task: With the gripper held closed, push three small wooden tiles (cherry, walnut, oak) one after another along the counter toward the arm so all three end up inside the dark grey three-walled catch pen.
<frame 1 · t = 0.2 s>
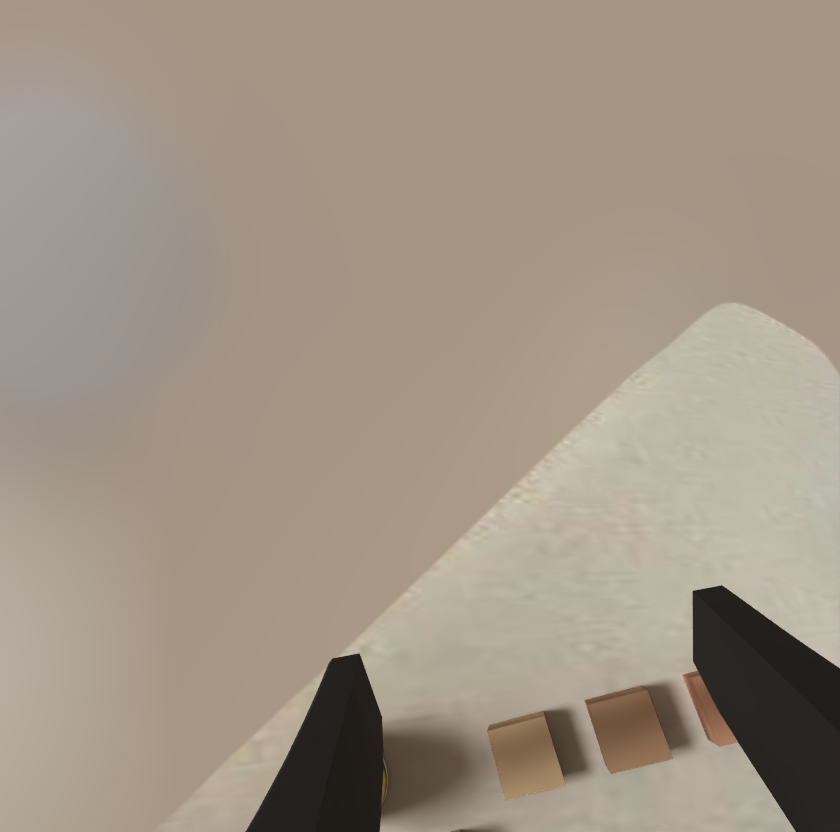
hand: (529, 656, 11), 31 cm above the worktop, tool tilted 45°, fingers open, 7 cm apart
cherry tile: (722, 698, 36), on the worktop
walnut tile: (622, 724, 37), on the worktop
oak tile: (525, 749, 37), on the worktop
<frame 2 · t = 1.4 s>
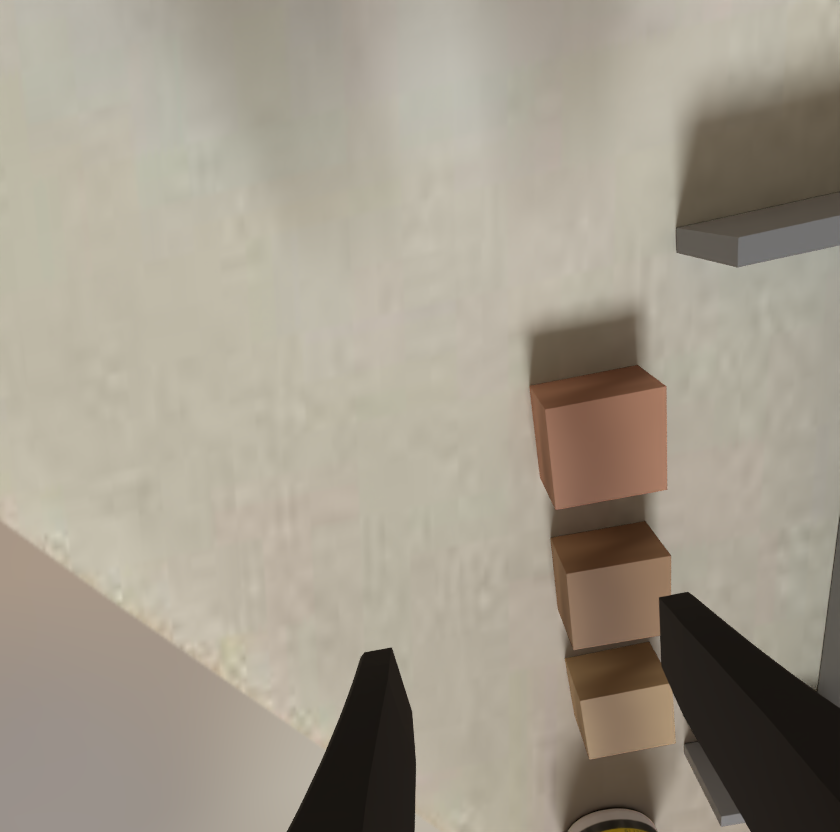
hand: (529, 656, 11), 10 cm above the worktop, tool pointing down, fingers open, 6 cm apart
supplement bottle 2: (606, 829, 31), on the worktop
cherry tile: (584, 421, 21), on the worktop
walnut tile: (598, 563, 23), on the worktop
catch pen: (763, 536, 23), on the worktop
oak tile: (608, 675, 26), on the worktop
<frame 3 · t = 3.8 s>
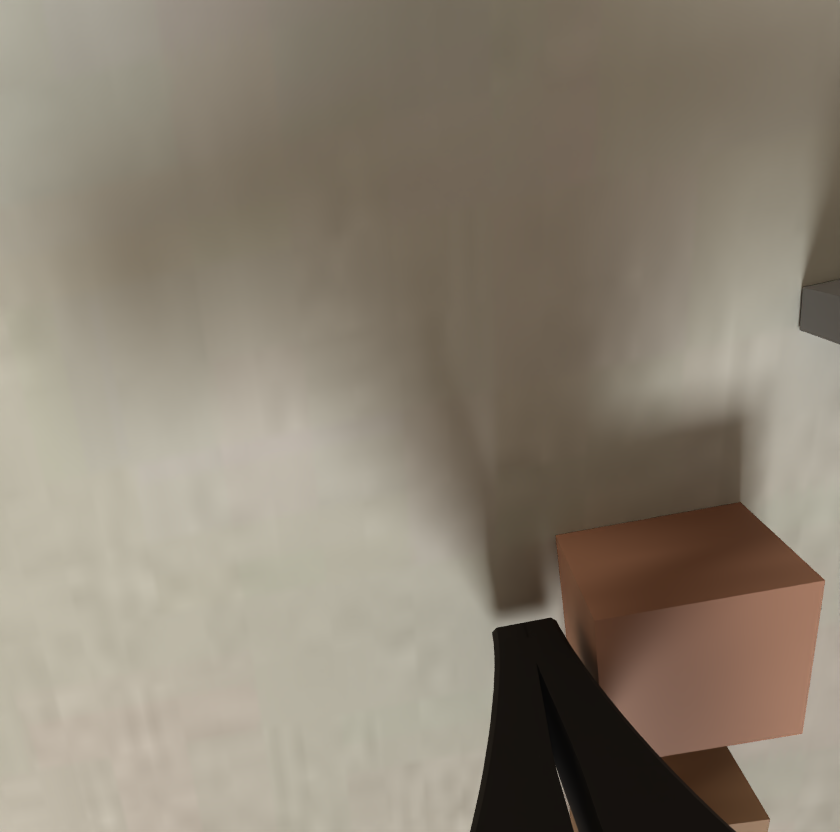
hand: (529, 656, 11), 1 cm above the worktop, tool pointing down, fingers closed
cherry tile: (648, 588, 12), on the worktop, touching gripper
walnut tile: (636, 775, 15), on the worktop
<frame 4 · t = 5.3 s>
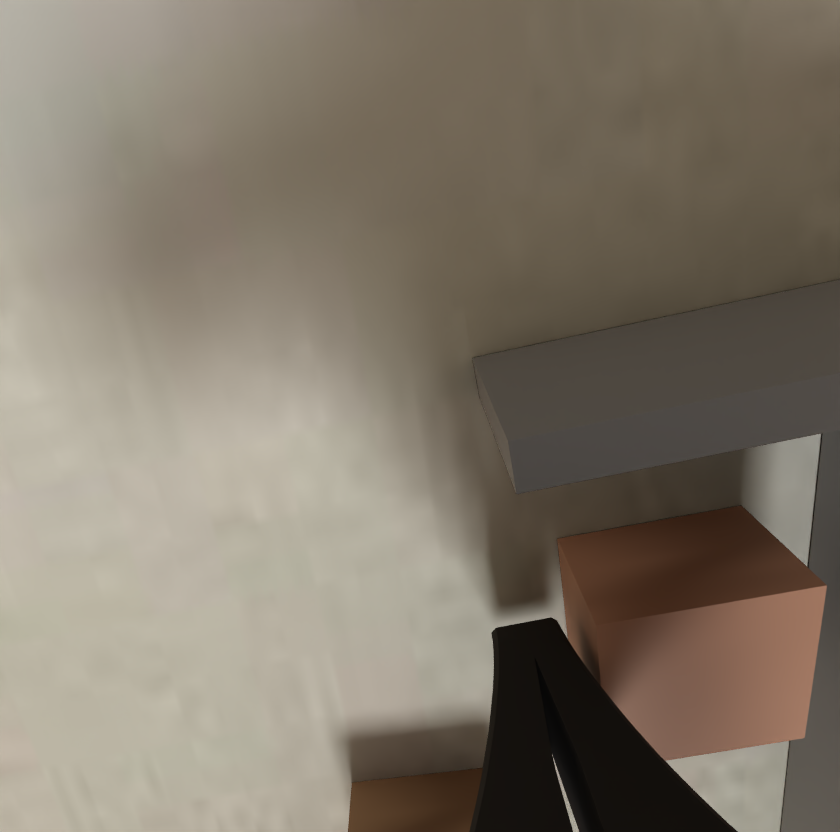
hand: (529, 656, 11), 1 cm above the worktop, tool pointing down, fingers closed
cherry tile: (650, 592, 12), on the worktop, touching gripper
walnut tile: (431, 810, 16), on the worktop
catch pen: (673, 779, 15), on the worktop
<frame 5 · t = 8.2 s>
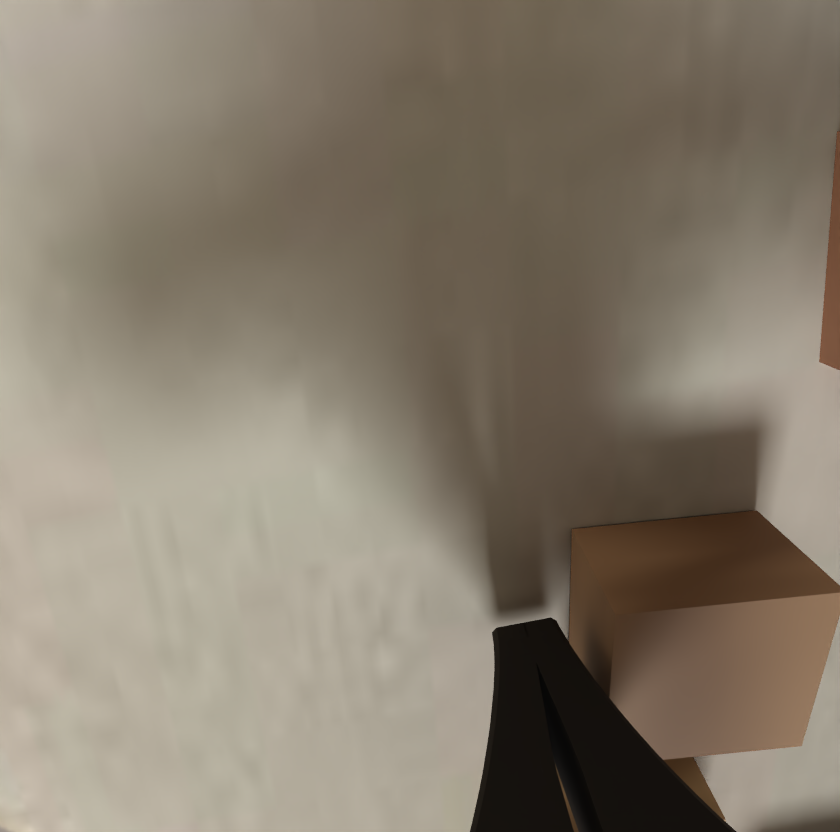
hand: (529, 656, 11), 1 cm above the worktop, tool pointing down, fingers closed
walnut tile: (656, 592, 12), on the worktop, touching gripper
oak tile: (612, 780, 15), on the worktop
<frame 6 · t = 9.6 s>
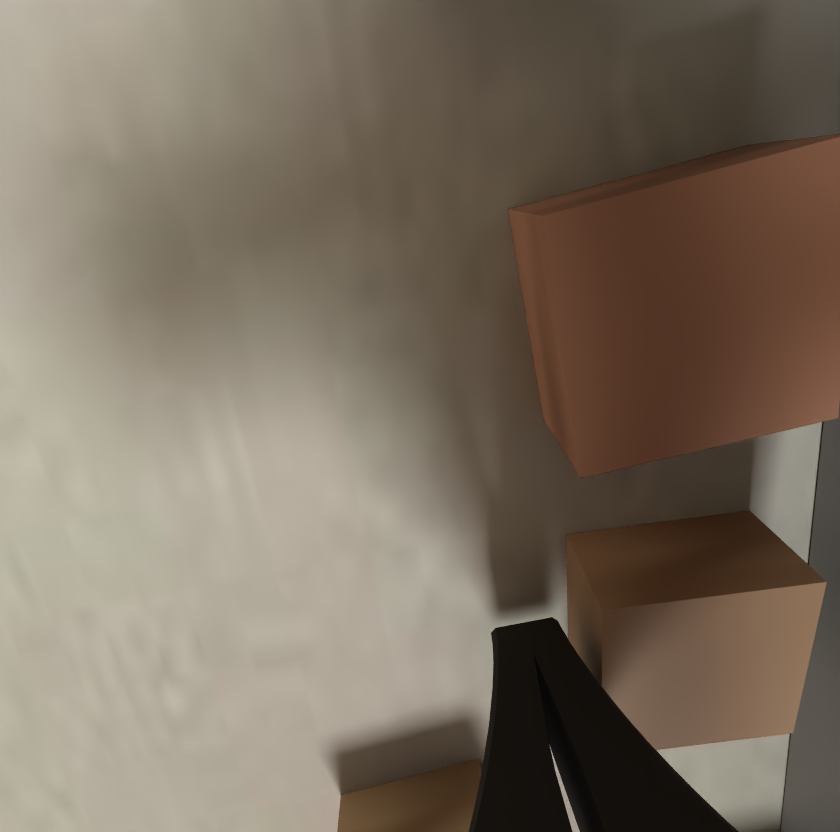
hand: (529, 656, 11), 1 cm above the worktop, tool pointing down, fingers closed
cherry tile: (631, 293, 10), on the worktop
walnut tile: (648, 586, 13), on the worktop
catch pen: (668, 590, 12), on the worktop
oak tile: (431, 810, 16), on the worktop
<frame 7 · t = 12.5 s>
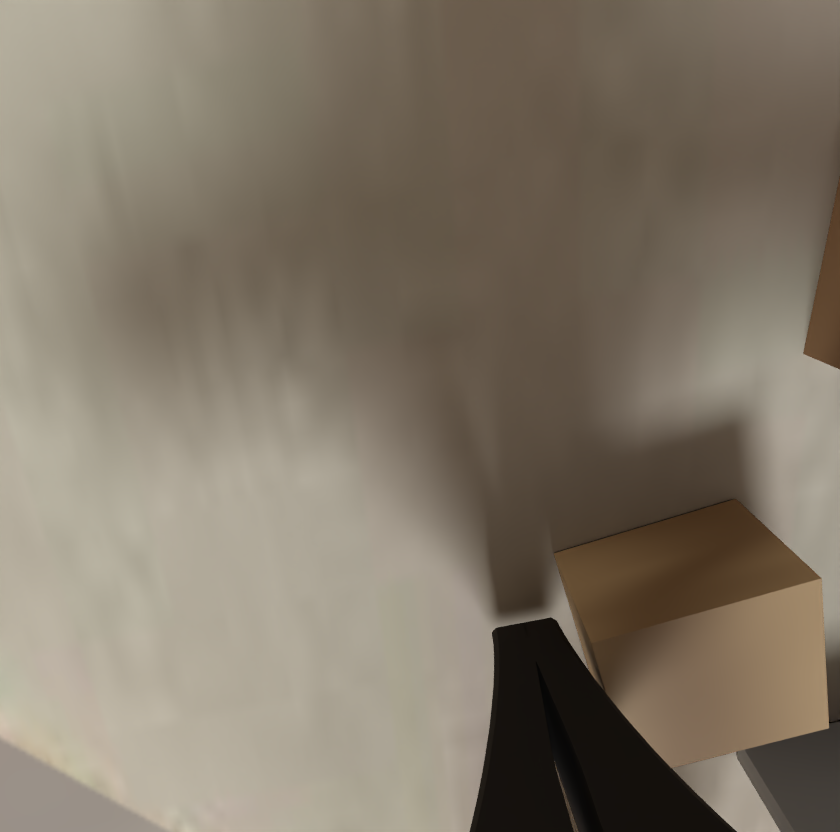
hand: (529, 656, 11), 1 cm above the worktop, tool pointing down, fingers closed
oak tile: (657, 594, 12), on the worktop, touching gripper
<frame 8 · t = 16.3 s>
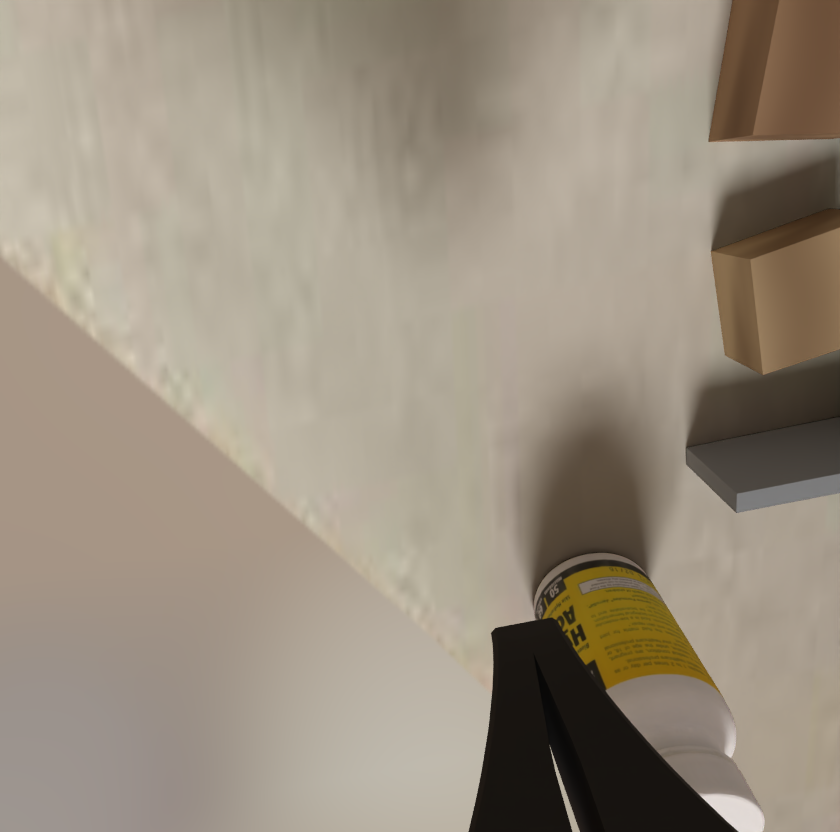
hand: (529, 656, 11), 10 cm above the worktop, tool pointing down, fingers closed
supplement bottle 2: (587, 593, 25), on the worktop
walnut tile: (780, 68, 17), on the worktop
catch pen: (797, 62, 16), on the worktop
oak tile: (770, 284, 19), on the worktop
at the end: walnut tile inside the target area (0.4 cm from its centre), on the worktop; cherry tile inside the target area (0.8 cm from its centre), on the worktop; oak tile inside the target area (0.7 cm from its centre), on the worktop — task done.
